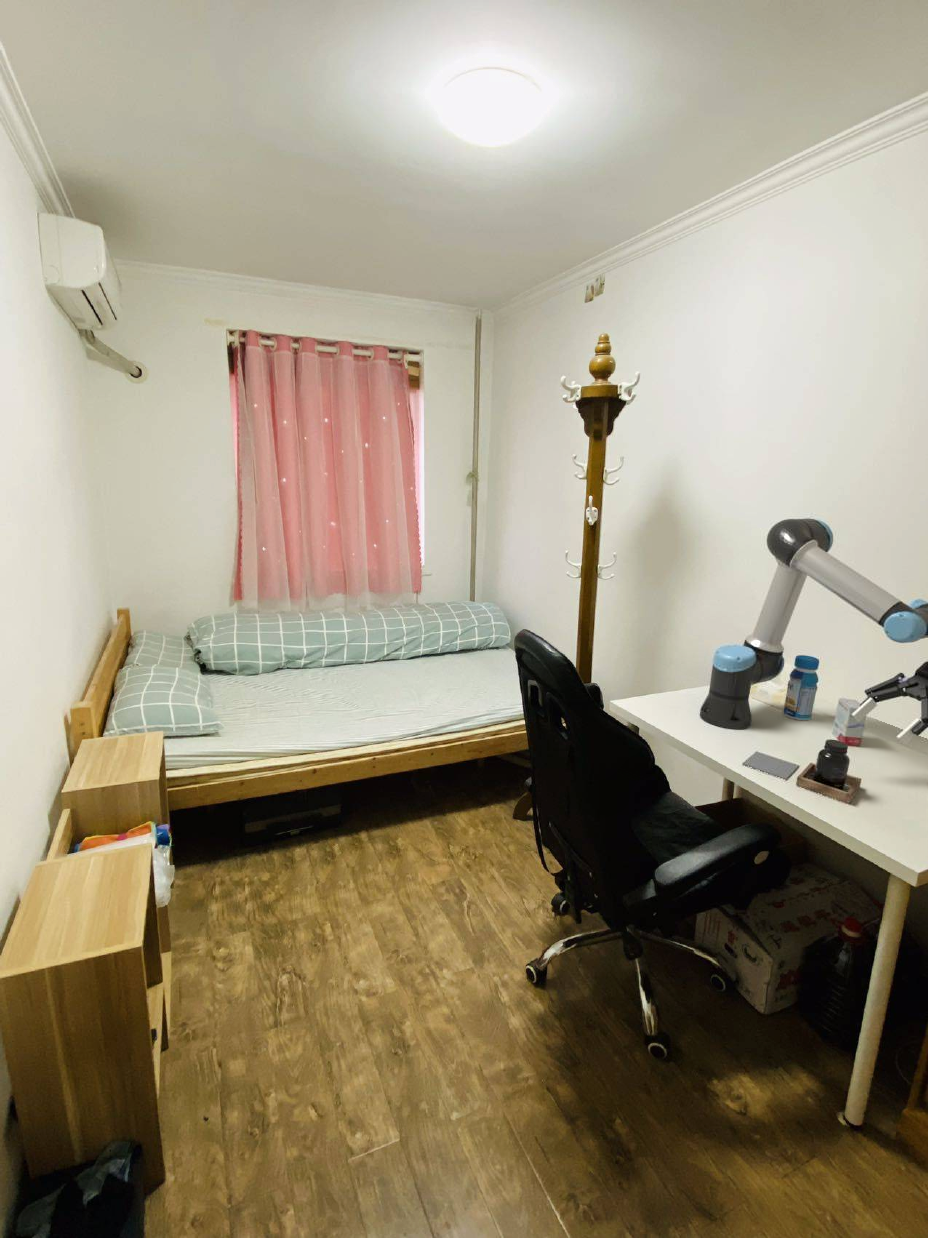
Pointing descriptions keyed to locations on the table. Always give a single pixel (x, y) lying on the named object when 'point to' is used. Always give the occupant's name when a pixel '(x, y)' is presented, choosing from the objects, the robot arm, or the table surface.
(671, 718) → the table surface
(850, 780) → the walnut open box
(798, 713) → the beverage bottle
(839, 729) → the ink box
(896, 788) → the table surface
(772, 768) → the grey rubber mat
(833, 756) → the supplement bottle
